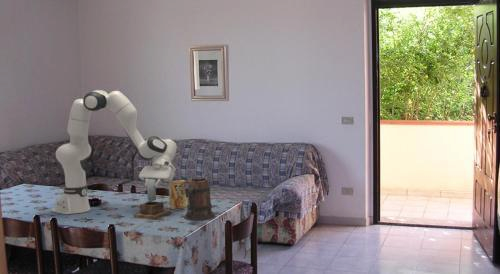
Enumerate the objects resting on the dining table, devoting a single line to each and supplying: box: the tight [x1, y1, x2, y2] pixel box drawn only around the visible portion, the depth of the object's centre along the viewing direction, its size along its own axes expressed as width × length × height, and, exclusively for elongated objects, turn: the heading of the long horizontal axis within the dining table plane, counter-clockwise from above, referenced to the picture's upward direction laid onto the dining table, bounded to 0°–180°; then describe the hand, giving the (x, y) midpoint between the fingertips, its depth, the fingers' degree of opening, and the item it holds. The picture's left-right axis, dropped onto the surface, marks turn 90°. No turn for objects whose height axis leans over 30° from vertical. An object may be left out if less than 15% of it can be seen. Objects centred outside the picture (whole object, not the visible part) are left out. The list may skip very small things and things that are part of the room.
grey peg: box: [146, 179, 157, 202], centre depth 297 cm, size 4×4×11 cm
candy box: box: [168, 179, 187, 210], centre depth 314 cm, size 9×4×15 cm, turn 119°
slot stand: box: [133, 200, 171, 220], centre depth 298 cm, size 14×14×6 cm
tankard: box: [183, 177, 217, 222], centre depth 288 cm, size 24×17×20 cm
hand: (150, 186), depth 296 cm, fingers closed on grey peg, 4 cm apart
